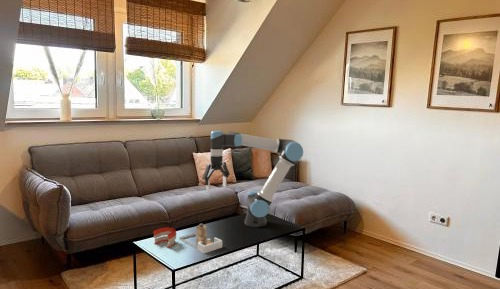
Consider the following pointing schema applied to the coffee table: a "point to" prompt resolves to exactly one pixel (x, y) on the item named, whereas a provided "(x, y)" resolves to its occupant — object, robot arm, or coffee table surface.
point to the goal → (210, 246)
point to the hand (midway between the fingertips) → (216, 188)
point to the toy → (165, 231)
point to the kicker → (202, 235)
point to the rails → (187, 237)
